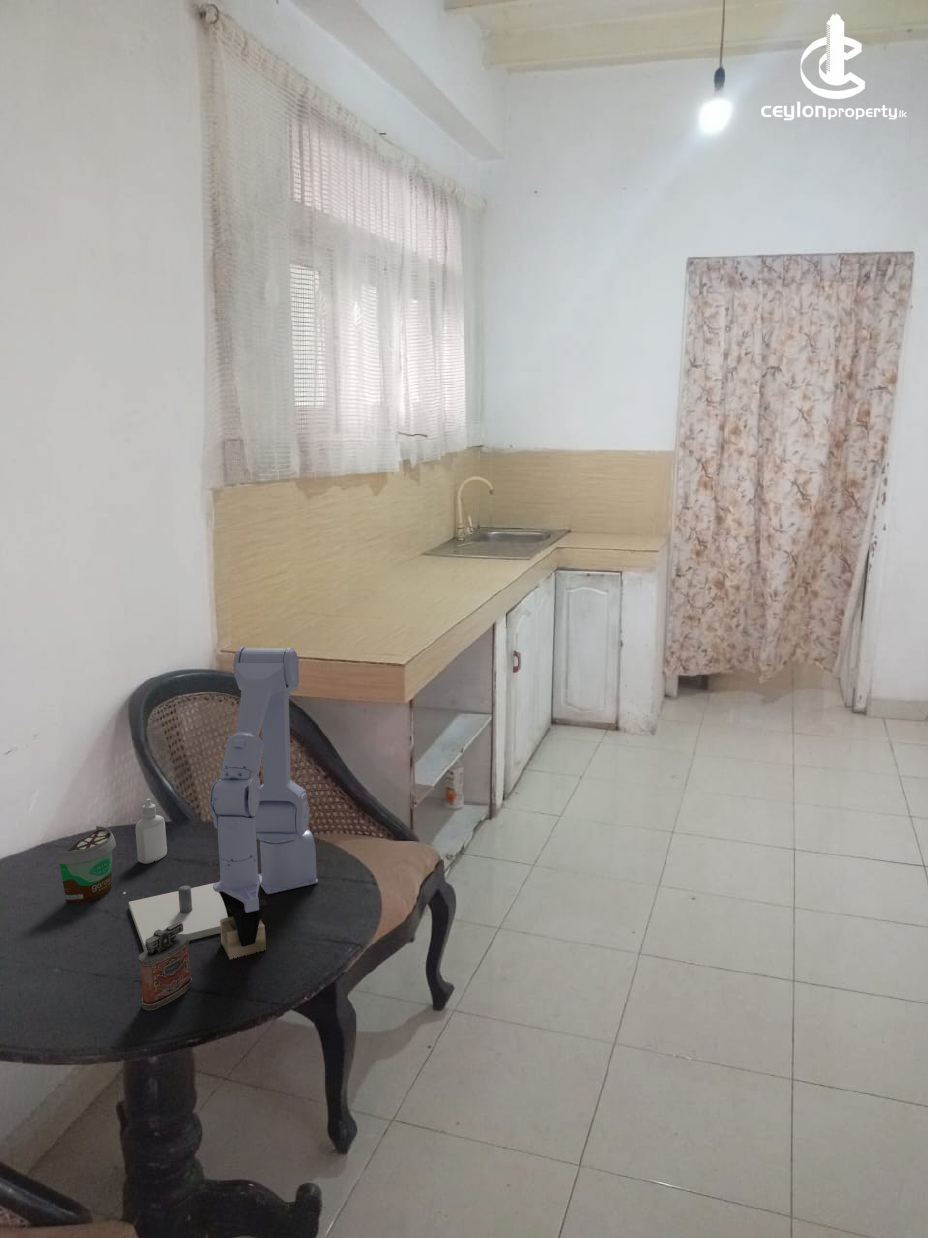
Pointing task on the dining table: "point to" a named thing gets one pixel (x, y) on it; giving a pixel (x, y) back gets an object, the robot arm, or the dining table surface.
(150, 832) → the eye dropper bottle
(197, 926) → the post board
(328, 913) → the dining table surface
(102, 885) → the food container
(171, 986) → the lighter
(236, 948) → the maple sleeve
